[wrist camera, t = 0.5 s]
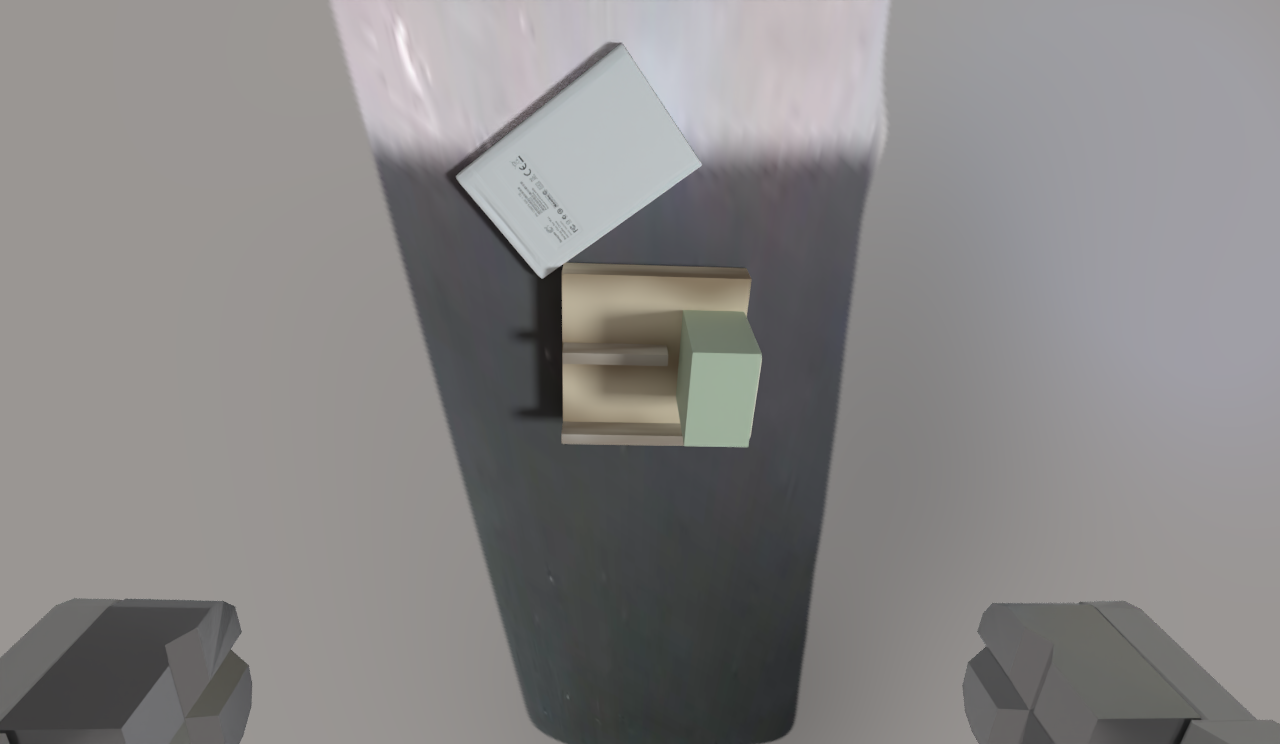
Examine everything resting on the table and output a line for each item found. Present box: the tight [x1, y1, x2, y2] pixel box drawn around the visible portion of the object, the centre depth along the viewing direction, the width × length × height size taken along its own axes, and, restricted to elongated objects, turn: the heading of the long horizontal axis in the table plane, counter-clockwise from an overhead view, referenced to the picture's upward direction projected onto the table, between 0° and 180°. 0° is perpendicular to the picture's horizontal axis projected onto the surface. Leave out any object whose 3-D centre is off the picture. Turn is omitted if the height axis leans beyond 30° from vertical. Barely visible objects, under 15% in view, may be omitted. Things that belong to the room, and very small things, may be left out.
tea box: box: [676, 310, 762, 447], centre depth 44 cm, size 4×6×6 cm, turn 177°
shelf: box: [562, 263, 751, 446], centre depth 47 cm, size 12×12×4 cm
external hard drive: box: [456, 43, 702, 279], centre depth 42 cm, size 2×8×12 cm
